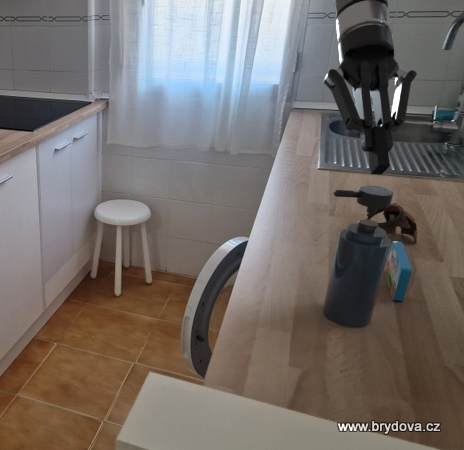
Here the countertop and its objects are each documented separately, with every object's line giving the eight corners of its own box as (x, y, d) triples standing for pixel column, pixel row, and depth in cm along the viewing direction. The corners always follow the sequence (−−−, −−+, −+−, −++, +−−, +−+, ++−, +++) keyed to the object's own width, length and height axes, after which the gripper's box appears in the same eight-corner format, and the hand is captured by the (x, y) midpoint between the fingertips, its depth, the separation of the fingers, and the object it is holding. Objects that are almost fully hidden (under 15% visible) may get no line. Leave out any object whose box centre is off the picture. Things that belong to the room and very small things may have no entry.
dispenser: (361, 306, 90) (384, 215, 84) (377, 329, 84) (403, 233, 77) (317, 302, 91) (336, 212, 85) (329, 326, 85) (351, 230, 78)
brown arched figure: (422, 252, 109) (411, 220, 106) (371, 261, 115) (358, 231, 112) (418, 218, 118) (407, 188, 115) (370, 227, 124) (359, 199, 121)
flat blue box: (385, 270, 102) (392, 240, 99) (394, 271, 101) (402, 241, 99) (392, 300, 91) (401, 268, 89) (402, 302, 91) (412, 270, 88)
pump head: (381, 207, 82) (386, 186, 81) (392, 218, 78) (398, 196, 77) (326, 204, 83) (330, 183, 82) (334, 215, 79) (339, 193, 78)
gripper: (397, 54, 89) (416, 183, 80) (314, 53, 91) (323, 179, 82) (420, 22, 82) (443, 159, 74) (329, 21, 84) (341, 155, 75)
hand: (380, 169), depth 78 cm, fingers closed
